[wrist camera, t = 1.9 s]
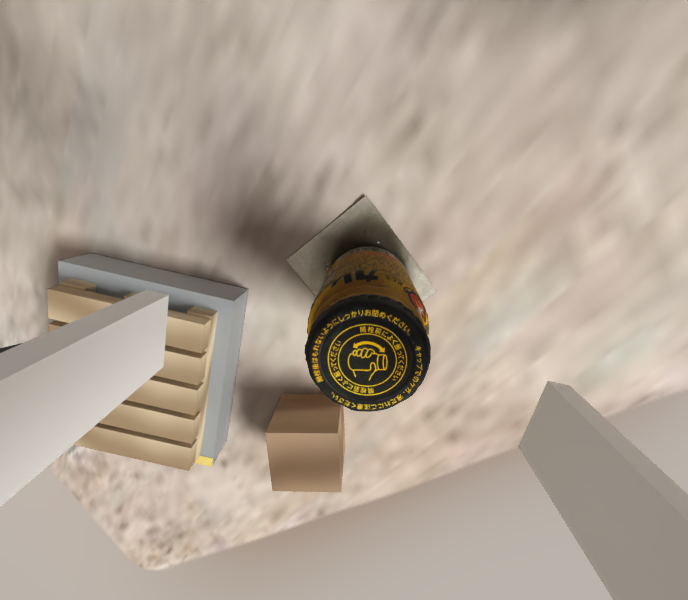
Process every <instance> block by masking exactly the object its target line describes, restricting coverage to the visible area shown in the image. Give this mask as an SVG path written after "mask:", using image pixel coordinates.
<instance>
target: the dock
mask: <svg viewBox="0 0 688 600" xmlns="http://www.w3.org/2000/svg"><path fill="white" fill-rule="evenodd" d="M72 278H74V279H78V280H83V281H87V282H91V283H96V293H98V294H103V295H107V296H112V297H116V298H120V299H124V296H126V295H129V294H131V293H133V292H135V293H140V292H142V291H145V290H150V291H154V292H159V293H163V294H168V295H169V301H168V310H173V311H177V312H181V313H186V314H187V311H188V310H190V309H191V308H193V307H194V306H196V307H200V308H204V309H209V310H213V311H217V312H218V314H217V322H216V330H215V339H214V347H213V356H212V364H211V373H210V381H209V390H208V398H207V407H206V415H205V424H204V432H203V441H202V449H201V454H200V456H199V457H198V459H197V460H196V462H195V463H198V464H202V465H207V466H211V467H212V466H213V464H214V462H215V460H216V459H217V457H218V455H219V453H220V452H221V450H222V448H223V446H224V444H225V443H226V441H227V435H228V428H229V421H230V414H231V407H232V400H233V393H234V386H235V379H236V372H237V366H238V359H239V352H240V345H241V338H242V331H243V324H244V317H245V310H246V303H247V296H248V289H245V288H241V287H236V286H232V285H228V284H223V283H219V282H215V281H210V280H206V279H201V278H197V277H193V276H188V275H184V274H180V273H175V272H171V271H167V270H162V269H158V268H154V267H149V266H145V265H141V264H136V263H132V262H128V261H123V260H119V259H115V258H110V257H106V256H102V255H97V254H93V253H90V254H86V255H81V256H77V257H72V258H67V259H63V260H58V284H59V285H60V282H62V281H65V280H68V279H72Z"/></svg>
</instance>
